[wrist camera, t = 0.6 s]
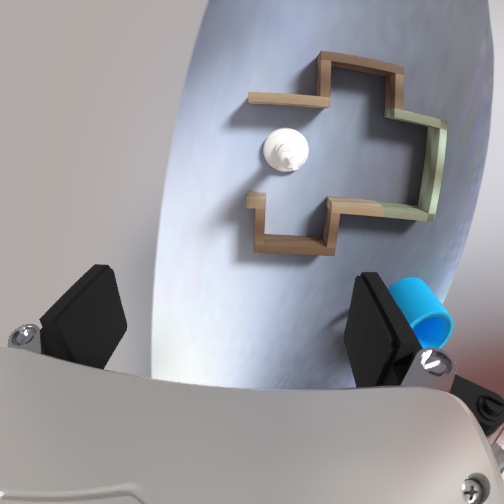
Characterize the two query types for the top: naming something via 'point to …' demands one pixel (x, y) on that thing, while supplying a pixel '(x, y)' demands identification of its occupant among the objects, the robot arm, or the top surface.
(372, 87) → the top surface
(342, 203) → the box
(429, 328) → the mug
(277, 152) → the chess piece
